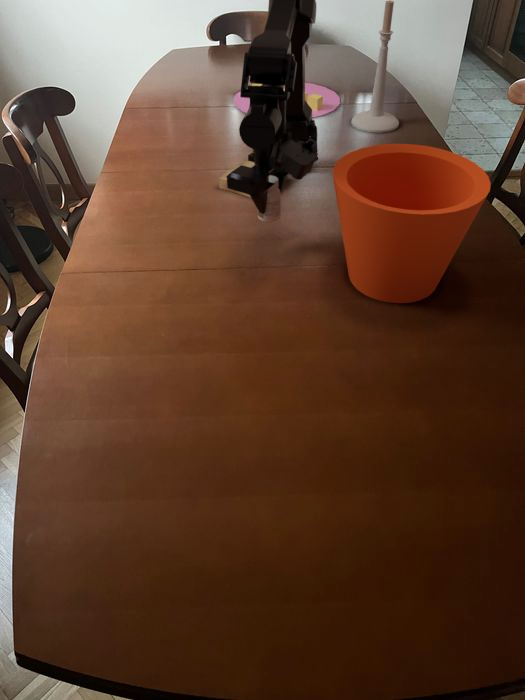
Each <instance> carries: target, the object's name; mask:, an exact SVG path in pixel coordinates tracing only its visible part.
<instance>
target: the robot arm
mask: <svg viewBox="0 0 525 700" xmlns="http://www.w3.org/2000/svg"><path fill="white" fill-rule="evenodd" d="M316 17H317V1H316V0H268V8H267V18H266V22H265V25H264V28H263V31H262V33H260V34H258V35H255V37H253V39H252V40H251V42H250V45H249V47H248V51H245V53H244V57H243V65H242V74H241V75H242V76H241V83H240V84H241V86H240V91H241V93H240V97H242V98H250V106H249V109H248V111H247V113H244V116H243V118H242V119H241V121H240V124H239V127H238V132H239V136H240V139H241V141H242V142H243V144H245V146H247V147H248V148H250V149H252V151H251V153H250V154H248V155H247V161H251V162H254V164H255V165H254V166H253V167H251V168H250V167H247V166H243V165H241V166H239V167H238V168H236V169H235V170H234V171H232V172H231V173H229V174H228V175H227V176H226V177H227V187H228V188H229V189H232V190H235V191H239V192H242V193H245V194H249V195H250V196H251V198H250V199H251V200H252V202H253V204H254V205H255V207H256V209H258V211H259V212H260V213H262V214H264V213H265V211H266V204H267V194H268V189H269V188H271V187H272V186H273V185H274V184H275V183H271V182H269V176H270V175H272V176H275V177H277V178H278V184H279V185H278V189H279V190H280V192H281V194H282V193H283V190H284V187H285V184H286V181H287V178H288V176H289V175H290V176H291V177H292V178H293V179H295V180H298V181H300V180H302V179H303V178H304V177H305V176H307V175H308V174H310V172H311V170H312V168H313V166H314V164H315V163H316V162H317V161H318V160H319V157H318V156H319V153H318V152H319V151H318V126H317V125H316V121H315V119H313V118H312V109H311V107H310V106H309V105H308V104H307V102H306V101H305V83H306V43H307V42H308V40H309V39H310V36H311V32H312V28H313V24H316V19H317V18H316ZM252 84H262V85H261V86H251V85H252ZM284 87H285V91H284ZM247 88H248V89H247Z"/></svg>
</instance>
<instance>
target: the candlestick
mask: <svg viewBox="0 0 525 700" xmlns="http://www.w3.org/2000/svg"><path fill="white" fill-rule="evenodd" d="M394 5H395V1H394V0H385V3H384V12H383V21H382V29H381V30H379V31H378V33H379V35H380V37H379V40H380V43H381V45H380V47H379V53H378V58H377V59H378V60H377V65H376V72H375V76H374V77H375V78H374V82H373V83H374V84H373V90H372V95H371V102H370V106H369V107H370V108H369V110H366V111H365V110H364V111H361V112H359V113H357V114H355V115H354V116H353V117H352V119H351V126H353V127H354V128H355V129H358V130H359V131H362V132H366V133H371V134H372V133H373V134H383V133H389V132H392V131H395V130H397V129H398V128H399V125H400V121H399V119H398V118H397V117H396V116H395V115H393V114H391V113H389V112H387V111H384V107H385V106H384V104H385V93H386V79H387V66H388V54H389V42H390V41H391V39H392V38H391V36H392V34H394V31H393V30H391V28H392V20H393V13H394Z"/></svg>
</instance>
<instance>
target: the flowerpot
mask: <svg viewBox="0 0 525 700" xmlns="http://www.w3.org/2000/svg"><path fill="white" fill-rule="evenodd" d="M332 181H333V184H334V191H335V197H336V198H335V199H336V204H337V211H338V216H339V223H340V229H341V236H342V241H343V242H342V243H343V248H344V254H345V260H346V267H347V274H348V277H349V281H350V283H351V284H352V285H353V287H354V288H355V289H356V290H357V291H358V292H360V293H362V295H364V296H366V297H368V298H371V299H373V300H376V301H380V302H384V303H391V304H410V303H415V302H418V301H421V300H424V299H426V298H428V297H429V296H431V295H432V294H433V293H434V292H435V290H436V289H437V287H438V285H439V283H440V281H441V280H442V278H443V276H444V275H445V273H446V271H447V269H448V267H449V265H450V264H451V261H452V260H453V258H454V256H455V254H456V253H457V250H458V249H459V247H460V246H461V244H462V242H463V240H464V238H465V236H466V235H467V232H468V231H469V229H470V228H471V225H472V224H473V222H474V220H475V218H476V217H477V215H478V213H479V211H480V209H481V207H482V206H483V204H484V202H485V200H486V199H487V197H488V195H489V193H490V192H491V184H492V183H491V179H490V177H489V175H488V174H487V173H486V171H485V170H484V169H483V168H482V167H481V166H480V165H478V164H477V163H475V162H474V161H472V160H470V159H469V158H467V157H465V156H462V155H460V154H458V153H455V152H452V151H449V150H447V149H442V148H439V147H433V146H428V145H422V144H413V143H384V144H375V145H370V146H366V147H365V146H364V147H362V148H358V149H355V150H352V151H350V152H348V153H346V154H345V155H343V156H341V158H339V159H338V160H337V161H336V162H335V164H334V166H333V169H332Z"/></svg>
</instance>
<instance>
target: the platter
mask: <svg viewBox="0 0 525 700" xmlns="http://www.w3.org/2000/svg"><path fill="white" fill-rule="evenodd" d="M261 85H262V84H252V83H251V84H250V86H261ZM247 89H248V87H247ZM284 91H285V87H284ZM240 93H241V90H240V91H238V92H237V93H236V94H234V97H233V100H232V101H233V104H234V106H235V108H237V109H238V110H239V111H242V112H243V113H244V114H246V113H247V111H248V109H249V106H250V98H242V97H240ZM305 101H306V102H307V104H308V105H309V106H310V107H311V109H312V119H313V118H318V117H322V116H325V115H327V114H330V113H332V112H334V111H336V109H338V107H340V105H341V97H340V96H339V95H338V94H337V92H336V91H334V90H332V89H329V88H328V87H325V86H323V85H320V84H319V85H318V84H315V83H312V82H305Z"/></svg>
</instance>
